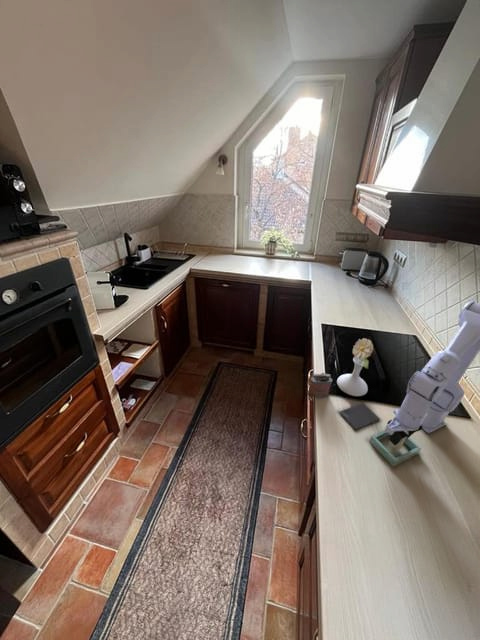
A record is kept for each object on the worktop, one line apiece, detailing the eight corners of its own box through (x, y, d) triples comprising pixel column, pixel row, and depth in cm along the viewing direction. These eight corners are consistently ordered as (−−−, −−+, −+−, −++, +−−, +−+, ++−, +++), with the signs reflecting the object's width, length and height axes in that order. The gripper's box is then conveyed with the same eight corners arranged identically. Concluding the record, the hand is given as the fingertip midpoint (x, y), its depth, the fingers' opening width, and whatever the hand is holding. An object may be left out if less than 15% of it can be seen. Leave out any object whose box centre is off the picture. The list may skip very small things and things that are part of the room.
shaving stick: (394, 437, 80) (401, 423, 77) (403, 446, 78) (411, 433, 74) (386, 440, 79) (393, 427, 76) (396, 450, 76) (403, 437, 73)
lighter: (326, 390, 99) (331, 371, 94) (329, 397, 96) (335, 377, 92) (306, 390, 99) (310, 371, 94) (308, 397, 96) (313, 377, 91)
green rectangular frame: (393, 430, 85) (395, 425, 83) (418, 453, 78) (421, 448, 76) (369, 441, 81) (371, 436, 80) (393, 466, 74) (396, 461, 73)
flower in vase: (335, 375, 107) (349, 325, 95) (364, 381, 105) (383, 330, 92) (337, 398, 96) (353, 344, 84) (369, 405, 94) (391, 350, 81)
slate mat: (362, 403, 94) (362, 402, 94) (379, 419, 88) (379, 418, 88) (339, 412, 90) (339, 411, 90) (355, 430, 84) (355, 428, 84)
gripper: (417, 392, 76) (401, 422, 83) (382, 406, 71) (369, 436, 78) (441, 409, 71) (422, 440, 78) (405, 426, 66) (388, 457, 72)
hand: (397, 439), depth 77 cm, fingers closed on shaving stick, 3 cm apart
